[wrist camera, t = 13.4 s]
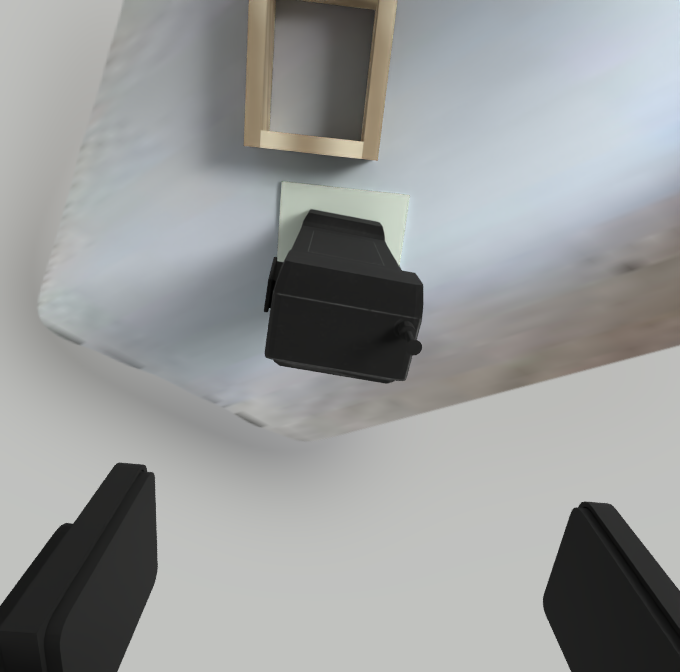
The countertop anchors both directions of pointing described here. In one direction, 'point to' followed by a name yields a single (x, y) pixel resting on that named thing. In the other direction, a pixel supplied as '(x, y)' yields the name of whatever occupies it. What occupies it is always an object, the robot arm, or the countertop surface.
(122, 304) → the countertop surface
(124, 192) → the countertop surface
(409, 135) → the countertop surface
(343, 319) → the portable radio
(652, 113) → the countertop surface
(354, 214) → the rubber mat
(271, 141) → the wooden pocket
